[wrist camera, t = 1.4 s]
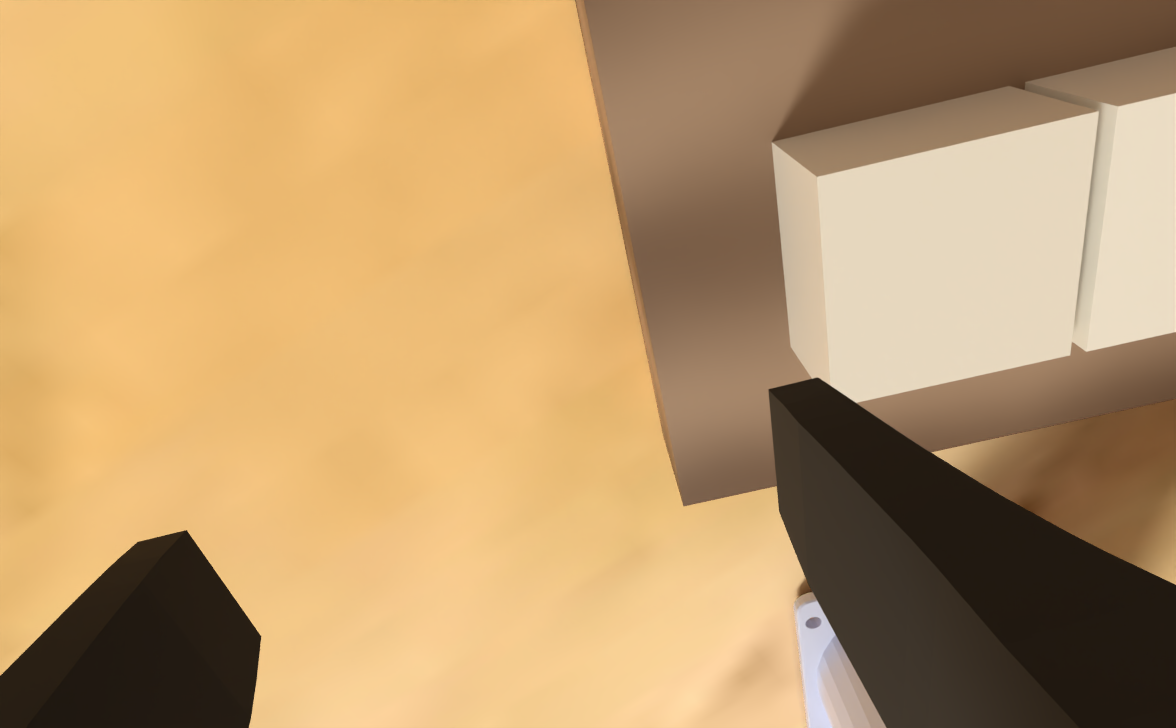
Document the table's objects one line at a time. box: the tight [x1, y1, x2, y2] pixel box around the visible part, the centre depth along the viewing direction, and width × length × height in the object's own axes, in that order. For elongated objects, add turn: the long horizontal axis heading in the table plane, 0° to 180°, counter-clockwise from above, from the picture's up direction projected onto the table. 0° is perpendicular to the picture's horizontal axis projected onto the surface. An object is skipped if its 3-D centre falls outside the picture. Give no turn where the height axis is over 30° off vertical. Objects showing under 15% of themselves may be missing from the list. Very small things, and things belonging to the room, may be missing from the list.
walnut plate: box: [575, 0, 1176, 506], centre depth 16 cm, size 12×14×3 cm
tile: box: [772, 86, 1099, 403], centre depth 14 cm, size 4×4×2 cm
